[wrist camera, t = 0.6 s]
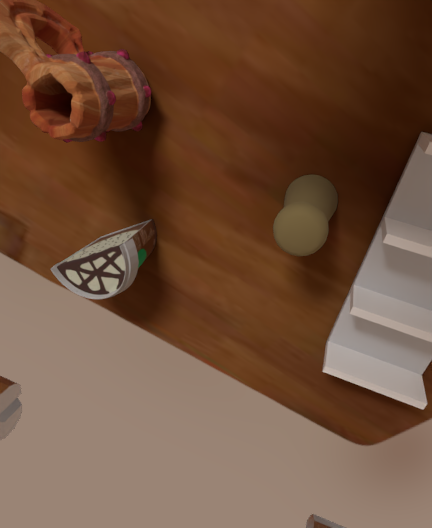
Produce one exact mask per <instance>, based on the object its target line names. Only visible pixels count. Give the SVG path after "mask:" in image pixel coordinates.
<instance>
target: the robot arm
mask: <svg viewBox="0 0 432 528" xmlns="http://www.w3.org/2000/svg"><path fill="white" fill-rule="evenodd" d="M20 394H21V387H20V384H17V383H15V382H13V381H11V380H9V379H6V378H4V377H2V376H0V440H2V439H4V438H6V437H7V436H8V435H9V434H10V432H11V431H12V430H13V429H14V428H15V426H16V424H17V423H18V421H19V419H20V416H21V413H22V404H21V402H20V401H19V399H18V398H17V397H18V396H19V395H20ZM306 528H345V527H343V526H341V525H338V524H336V523H334V522H331V521H329V520H326V519H324V518H321V517H319V516H317V515H314V514H312V515H310V517H309V518H308V520H307V524H306Z"/></svg>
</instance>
